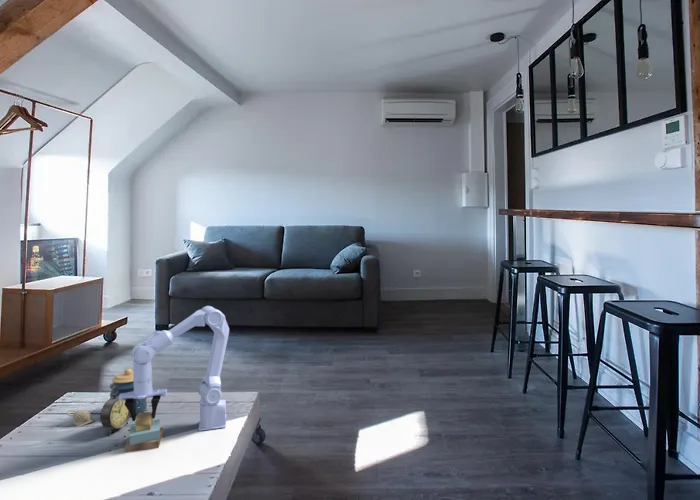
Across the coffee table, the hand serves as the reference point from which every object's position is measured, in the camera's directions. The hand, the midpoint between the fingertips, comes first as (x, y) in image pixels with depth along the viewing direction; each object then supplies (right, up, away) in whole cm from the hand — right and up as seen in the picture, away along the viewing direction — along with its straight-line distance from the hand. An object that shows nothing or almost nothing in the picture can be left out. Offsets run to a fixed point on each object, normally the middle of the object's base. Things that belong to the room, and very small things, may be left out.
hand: (144, 418), depth 139 cm
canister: (-18, -8, +24) cm, 31 cm away
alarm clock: (-15, -8, +10) cm, 20 cm away
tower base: (0, -9, +1) cm, 9 cm away
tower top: (0, -6, +1) cm, 6 cm away
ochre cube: (0, -3, 0) cm, 3 cm away
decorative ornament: (-31, -8, +15) cm, 36 cm away
